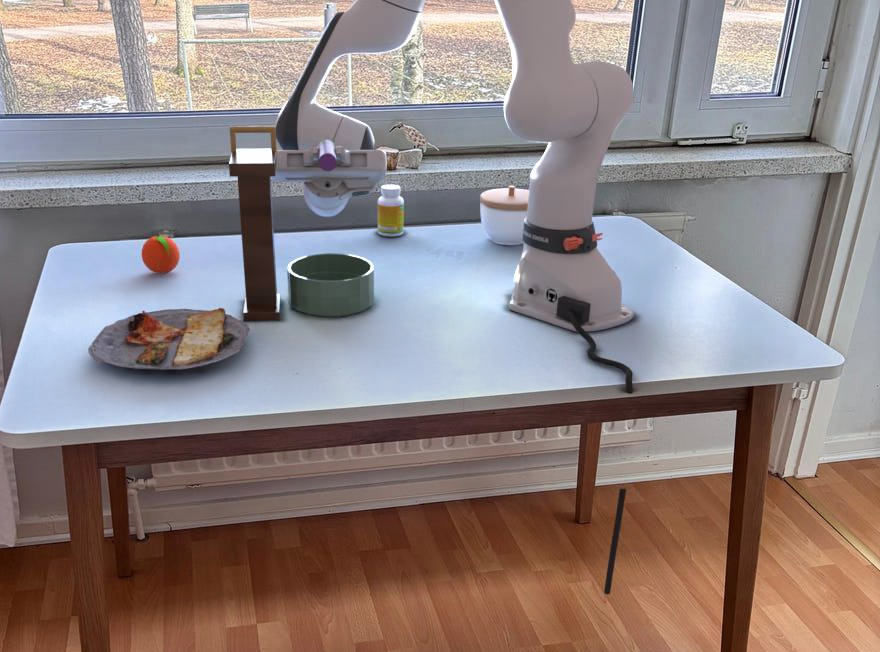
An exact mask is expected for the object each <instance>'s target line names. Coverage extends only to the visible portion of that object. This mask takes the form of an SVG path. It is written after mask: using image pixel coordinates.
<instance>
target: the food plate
mask: <svg viewBox="0 0 880 652" xmlns="http://www.w3.org/2000/svg"><path fill="white" fill-rule="evenodd" d="M250 329H251V328H250V326H249V325H248V323H246V322H245V321H242V320H241V319H238V318H236V317H235V316H232V315H231V314H228V313H227V312H226V310H225V308H224V307H219V308H215V309H212V310H203V309H192V308H173V309H172V308H169V309H162V310H161V309H160V310H155V311H147V312H146V311H145V310H141V312H139V313H136V314H132V315H129V316H128V317H125V318H123V319H118V320H116V321H115V322H114V323H111V324H110V325H105V326H104V327H103V328H102V329H101V330H100V332H99V333H98V334H97V335H96V337H95V338H94V340H93V341H92V343H91V344H90V345H89V347H88V348H87V350H88V354H89V356H90V357H91V358H92V359H93V360H95V361H97V362H100V363H102V364H104V363H107V364H111V365H113V366H116V367H122V368H130V369H134V370H135V369H139V370H140V369H145V370H149V371H151V370H156V371H159V372H160V370H185V369H195V368H201V367H205V366H206V365H209V364H214V363H217V362H220V361H222V360H225V359H227V358H230V357H231V356H234V355H235V354H238V353H240V351H241V349H242V347H243V345H244V344H245V342H246V339H247V337H248V335H249V332H250Z"/></svg>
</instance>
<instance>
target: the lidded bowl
mask: <svg viewBox="0 0 880 652" xmlns="http://www.w3.org/2000/svg"><path fill="white" fill-rule="evenodd" d="M528 195H529V189H523V188H516V187H515V185H509V186H508V187H503V188H491V189H488V190H485V191H483V192H482V193H480V194H479V202H480V206H479V213H480V214H479V215H480V222H481V225H482V226H481V227H482V229H483V231H484V233H486V235H487V236H488V237H489V238H490V241H491V242H492V243H494V244H497V245H500V246H501V245H502V246H520V245H524V241H523V239H522V237H523V231H522V230H523V226H524V219H525V218H526V217H527V208H528Z"/></svg>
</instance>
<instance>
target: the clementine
mask: <svg viewBox="0 0 880 652" xmlns="http://www.w3.org/2000/svg"><path fill="white" fill-rule="evenodd" d="M141 260H142V262H143V264H144V266H145V267H146V268H147V269H148V270H149V271H151V272H153V273H155V274H159V275H160V274H161V275H163V274H167V273H171V272H172V271H173V270H175V268H176V267H177V266H178V264H179V261H180V249H179V246H178V245H177V243H176V242H175V241H174V240H173V239H172V238H170V237H168V236H166V235H160V234H158V235H154V236H151V237H149V238H148V239H147V240H146V241H145V242H144V244H143V245H142V248H141Z"/></svg>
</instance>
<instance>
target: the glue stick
mask: <svg viewBox="0 0 880 652" xmlns="http://www.w3.org/2000/svg"><path fill="white" fill-rule="evenodd" d="M318 147H319V152H318V155H319V166H320V167H321V169H322V170H324V171H332V170H333V169H334V168H335V167H336V164H337V161H336V153H335V146H334V144H333V143H332V142H331V141H330V140H323V141H322V142H320V144H319V146H318Z"/></svg>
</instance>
